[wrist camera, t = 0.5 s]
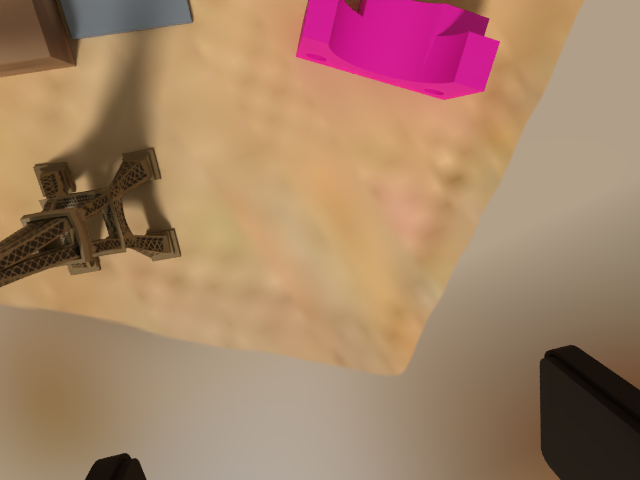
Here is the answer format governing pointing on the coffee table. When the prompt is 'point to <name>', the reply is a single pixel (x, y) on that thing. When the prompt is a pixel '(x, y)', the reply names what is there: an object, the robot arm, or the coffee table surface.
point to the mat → (122, 15)
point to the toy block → (401, 44)
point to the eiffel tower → (81, 223)
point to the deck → (32, 37)
